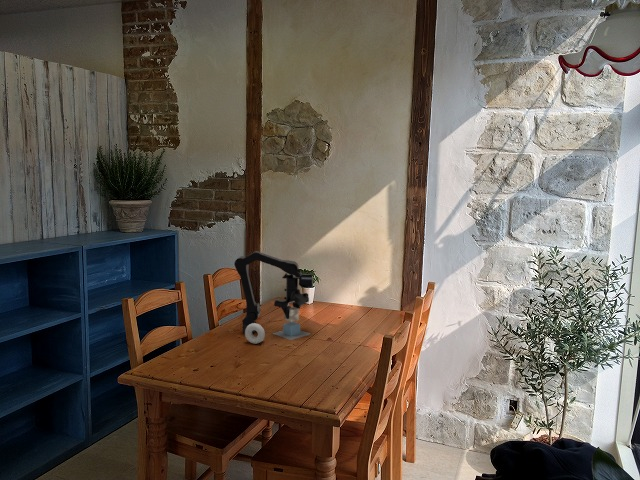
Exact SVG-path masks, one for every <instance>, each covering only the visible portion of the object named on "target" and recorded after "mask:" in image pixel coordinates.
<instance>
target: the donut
mask: <svg viewBox="0 0 640 480" xmlns="http://www.w3.org/2000/svg"><path fill="white" fill-rule="evenodd" d="M253 330H255V331H257V332H256V333H257V336H255V335H254V334H252V331H253ZM265 335H266V332H265V329H264V327H262V325H261V324H259V323H257V322H256V323H252V324H249V325H248V326H247V328H246V330H245V334H244V336H245V338H246V340H247V341H248V342H250V343H251V344H254V345H255V344H257V345H258V344H261V343H263V341H264V340H265V338H266V337H265Z"/></svg>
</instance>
